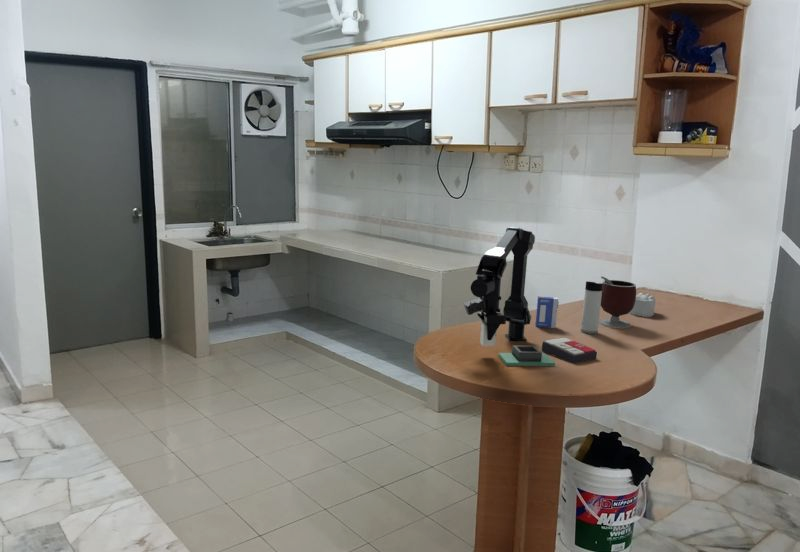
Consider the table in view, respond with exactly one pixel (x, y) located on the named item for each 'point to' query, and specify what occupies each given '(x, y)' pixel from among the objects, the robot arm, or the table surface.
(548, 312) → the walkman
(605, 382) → the table surface
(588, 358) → the dark panelled flat block
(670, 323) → the table surface
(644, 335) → the table surface
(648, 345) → the table surface
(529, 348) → the board
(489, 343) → the plug
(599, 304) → the travel mug
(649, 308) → the lumpy-topped squat cylinder
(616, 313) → the mate gourd
